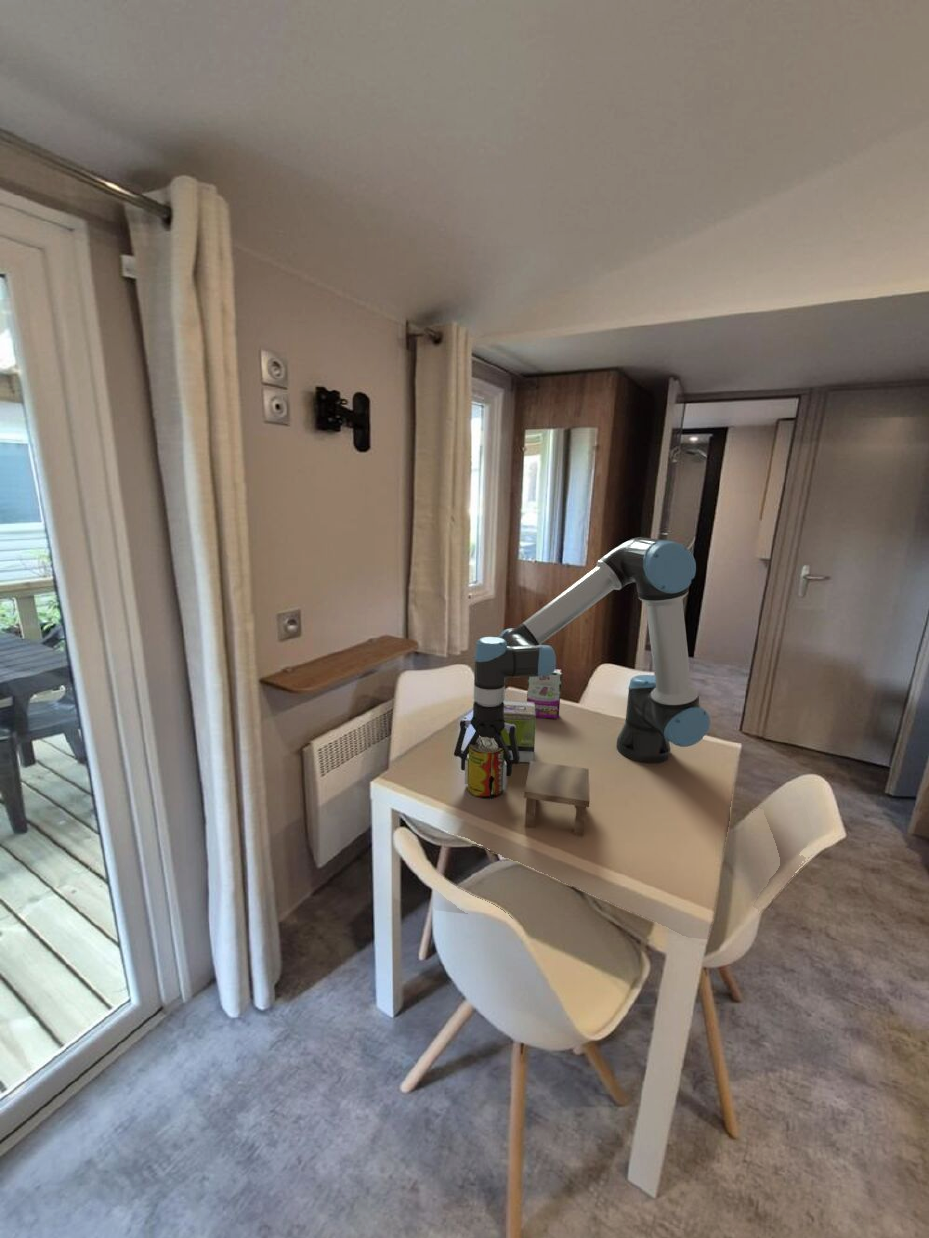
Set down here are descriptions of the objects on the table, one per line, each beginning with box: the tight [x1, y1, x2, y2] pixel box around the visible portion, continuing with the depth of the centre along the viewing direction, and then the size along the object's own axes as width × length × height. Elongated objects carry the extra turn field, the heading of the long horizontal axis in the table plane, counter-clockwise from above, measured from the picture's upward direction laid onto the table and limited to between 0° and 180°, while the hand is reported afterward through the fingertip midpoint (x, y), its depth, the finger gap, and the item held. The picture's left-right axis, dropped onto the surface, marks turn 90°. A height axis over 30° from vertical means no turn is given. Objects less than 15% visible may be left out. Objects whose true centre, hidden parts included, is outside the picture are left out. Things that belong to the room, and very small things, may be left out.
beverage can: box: [467, 736, 505, 799], centre depth 127 cm, size 9×9×12 cm
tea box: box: [501, 699, 537, 764], centre depth 146 cm, size 15×10×15 cm, turn 84°
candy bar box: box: [526, 668, 563, 720], centre depth 172 cm, size 11×5×16 cm, turn 80°
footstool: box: [523, 761, 590, 837], centre depth 119 cm, size 14×14×9 cm
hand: (485, 783), depth 129 cm, fingers closed on beverage can, 9 cm apart
